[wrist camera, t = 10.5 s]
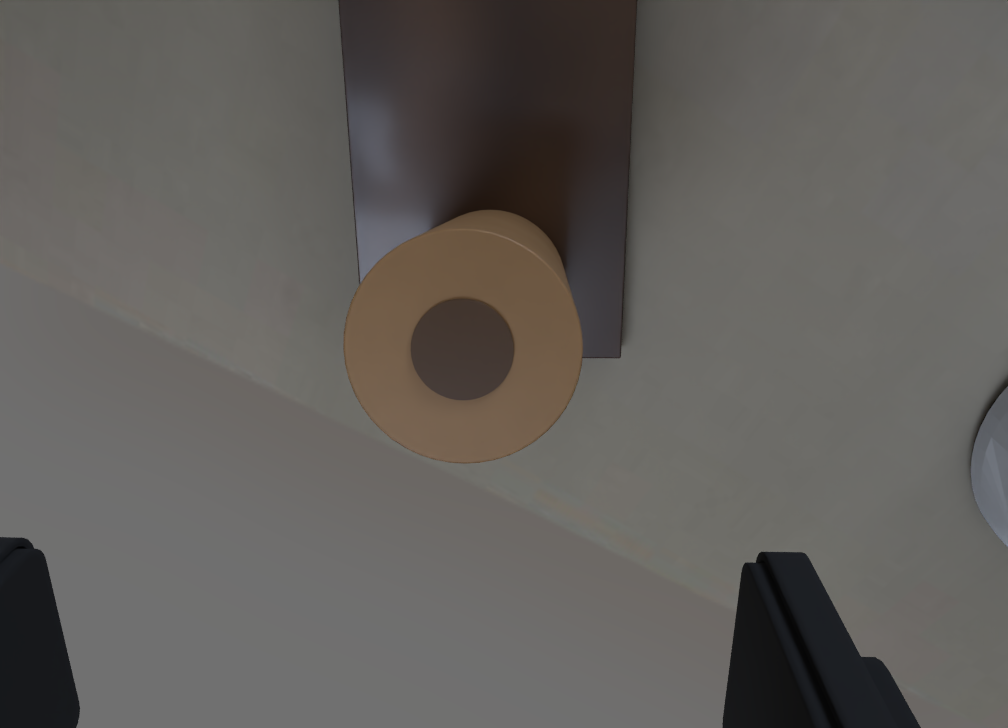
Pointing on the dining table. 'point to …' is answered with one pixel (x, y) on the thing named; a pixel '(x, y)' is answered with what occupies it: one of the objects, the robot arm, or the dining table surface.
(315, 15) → the dining table surface
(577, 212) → the holder
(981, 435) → the mug
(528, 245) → the paper roll
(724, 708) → the robot arm
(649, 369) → the dining table surface
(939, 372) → the dining table surface
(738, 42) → the dining table surface
